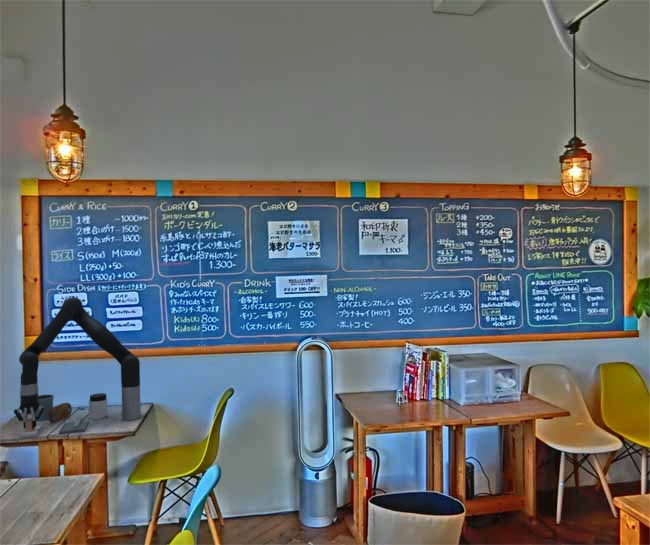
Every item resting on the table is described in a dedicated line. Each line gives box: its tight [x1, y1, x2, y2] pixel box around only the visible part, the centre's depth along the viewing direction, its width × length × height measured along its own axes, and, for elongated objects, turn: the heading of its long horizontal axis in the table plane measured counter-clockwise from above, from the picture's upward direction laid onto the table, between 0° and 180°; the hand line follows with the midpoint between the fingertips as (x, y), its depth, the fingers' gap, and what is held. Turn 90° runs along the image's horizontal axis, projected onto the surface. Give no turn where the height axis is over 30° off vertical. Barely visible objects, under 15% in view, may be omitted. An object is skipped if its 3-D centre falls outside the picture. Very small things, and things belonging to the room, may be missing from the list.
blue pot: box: [36, 394, 54, 422], centre depth 261 cm, size 10×10×12 cm
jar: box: [88, 392, 108, 420], centre depth 263 cm, size 9×8×12 cm
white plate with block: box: [20, 417, 44, 439], centre depth 237 cm, size 7×12×6 cm, turn 19°
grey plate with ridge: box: [58, 416, 90, 435], centre depth 243 cm, size 11×15×4 cm
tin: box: [47, 402, 73, 424], centre depth 259 cm, size 15×3×8 cm, turn 168°
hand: (29, 428), depth 237 cm, fingers closed on white plate with block, 2 cm apart
